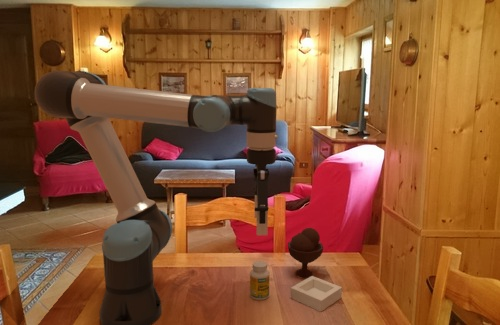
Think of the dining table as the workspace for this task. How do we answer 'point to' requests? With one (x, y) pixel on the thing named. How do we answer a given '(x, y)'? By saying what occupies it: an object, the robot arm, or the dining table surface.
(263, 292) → the supplement bottle
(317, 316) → the dining table surface
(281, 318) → the dining table surface
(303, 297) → the holder
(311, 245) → the ice cream bowl
